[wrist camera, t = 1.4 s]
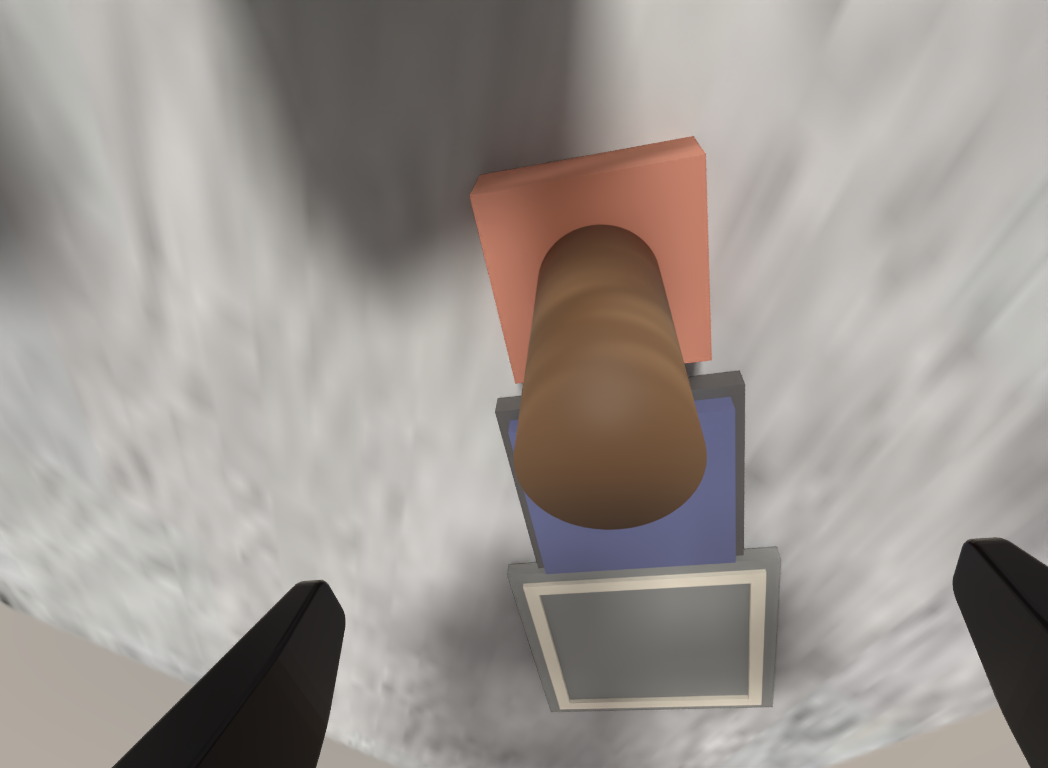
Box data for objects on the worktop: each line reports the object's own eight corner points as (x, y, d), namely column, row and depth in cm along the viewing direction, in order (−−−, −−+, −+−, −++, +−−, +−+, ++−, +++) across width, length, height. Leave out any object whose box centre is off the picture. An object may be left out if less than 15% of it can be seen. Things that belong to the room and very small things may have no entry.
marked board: (777, 547, 25) (782, 562, 24) (769, 695, 31) (773, 711, 31) (508, 564, 27) (506, 579, 26) (551, 700, 33) (550, 715, 32)
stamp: (693, 135, 16) (794, 287, 9) (700, 327, 20) (779, 563, 12) (480, 174, 17) (398, 341, 10) (520, 350, 21) (484, 581, 13)
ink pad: (739, 370, 20) (749, 396, 19) (739, 539, 25) (747, 569, 24) (497, 398, 22) (492, 424, 21) (539, 553, 26) (537, 582, 25)
